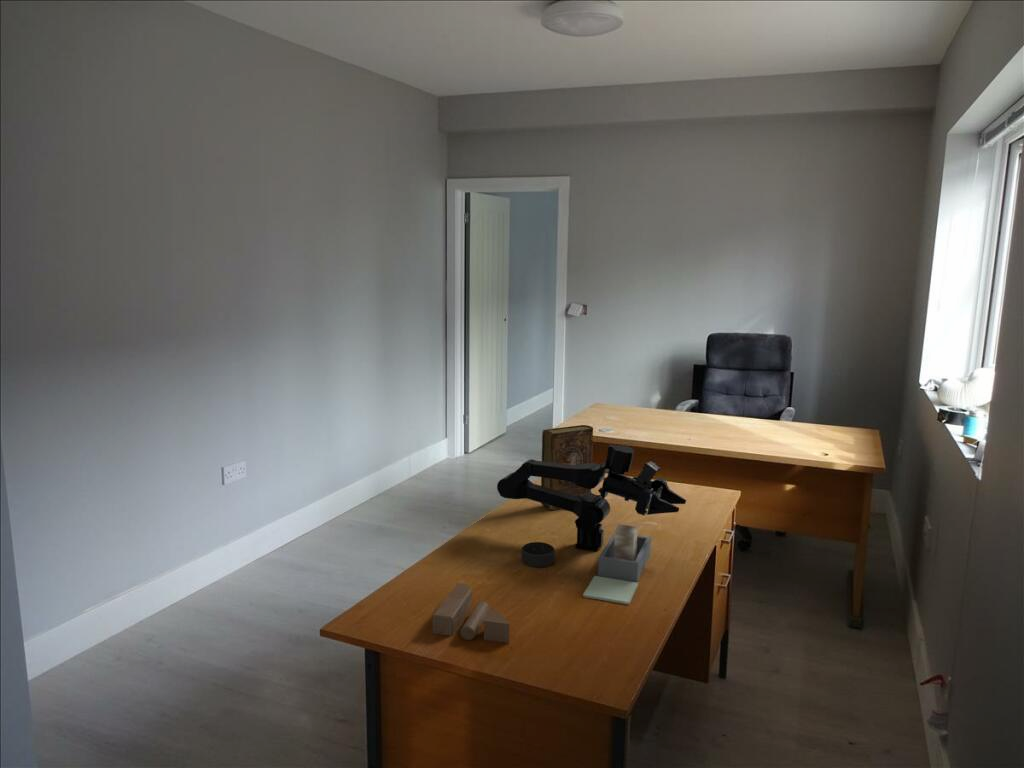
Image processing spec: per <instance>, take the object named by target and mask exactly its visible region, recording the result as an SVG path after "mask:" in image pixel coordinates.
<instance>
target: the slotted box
mask: <svg viewBox="0 0 1024 768" xmlns="http://www.w3.org/2000/svg"><path fill="white" fill-rule="evenodd" d="M614 537H615V531H614V533H613V534H612V535H611V537H610V538H609V540H608V542H607V543H606V544H605V546H604V548H603V550H602V551H601V553H600V554H599V556H598V563H597V564H598V565H597V567H598V568H597V576H599V577H605V578H611V579H617V580H624V581H630V582H636V583H639V582H638V581H639V580H640V578H641V576H642V574H643V571H644V569H645V567H646V565H647V563H648V561H649V558H650V556H651V548H652V547H651V546H652V545H651V543H652V537H650V536H643V535H637V556H636V558H635V560H634V561H630V560H623V559H617V558H614Z"/></svg>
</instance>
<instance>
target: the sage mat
mask: <svg viewBox="0 0 1024 768" xmlns="http://www.w3.org/2000/svg"><path fill="white" fill-rule="evenodd" d="M638 586H639V582H632V581H626V580H620V579H614V578H608V577H601V576H598V575H594V576H593V577H592V579H591V581H590V582H589V585H588V586H587V587H586V589H585V590H584V592H583V593H582V594H583V595H582V597H583V598H586V599H587V598H588V599H595V600H601V601H604V602H605V601H606V602H612V603H615V604H616V603H617V604H623V605H630V603H631V601H632V599H633V597H634V595H635V593H636V591H637V588H638Z"/></svg>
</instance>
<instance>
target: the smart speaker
mask: <svg viewBox="0 0 1024 768" xmlns="http://www.w3.org/2000/svg"><path fill="white" fill-rule="evenodd" d="M555 551H556V550H555V548H554V547H553V545H551V544H549V543H547V542H542V541H534V542H528V543H526V544H524V545H523V546H522V547H521V550H520V560H521V562H522V563H523V564H525V565H526V566H528V567H533V568H544V567H545V568H546V567H548V566H551V565H552V564H553V563H554V562H555V560H556V557H555V556H556V552H555Z"/></svg>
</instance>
